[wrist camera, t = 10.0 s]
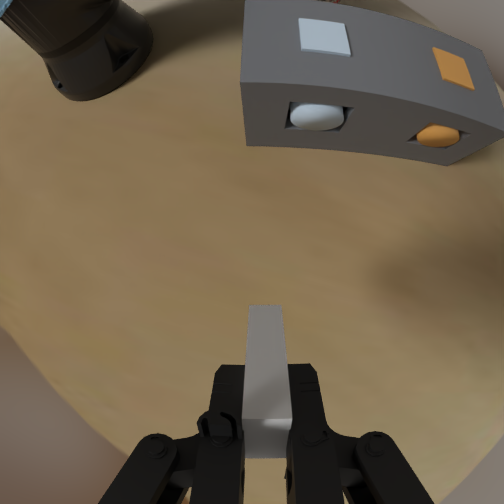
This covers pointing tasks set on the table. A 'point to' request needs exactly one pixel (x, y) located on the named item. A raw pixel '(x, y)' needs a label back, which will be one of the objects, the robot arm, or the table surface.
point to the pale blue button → (316, 116)
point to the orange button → (437, 135)
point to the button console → (363, 81)
